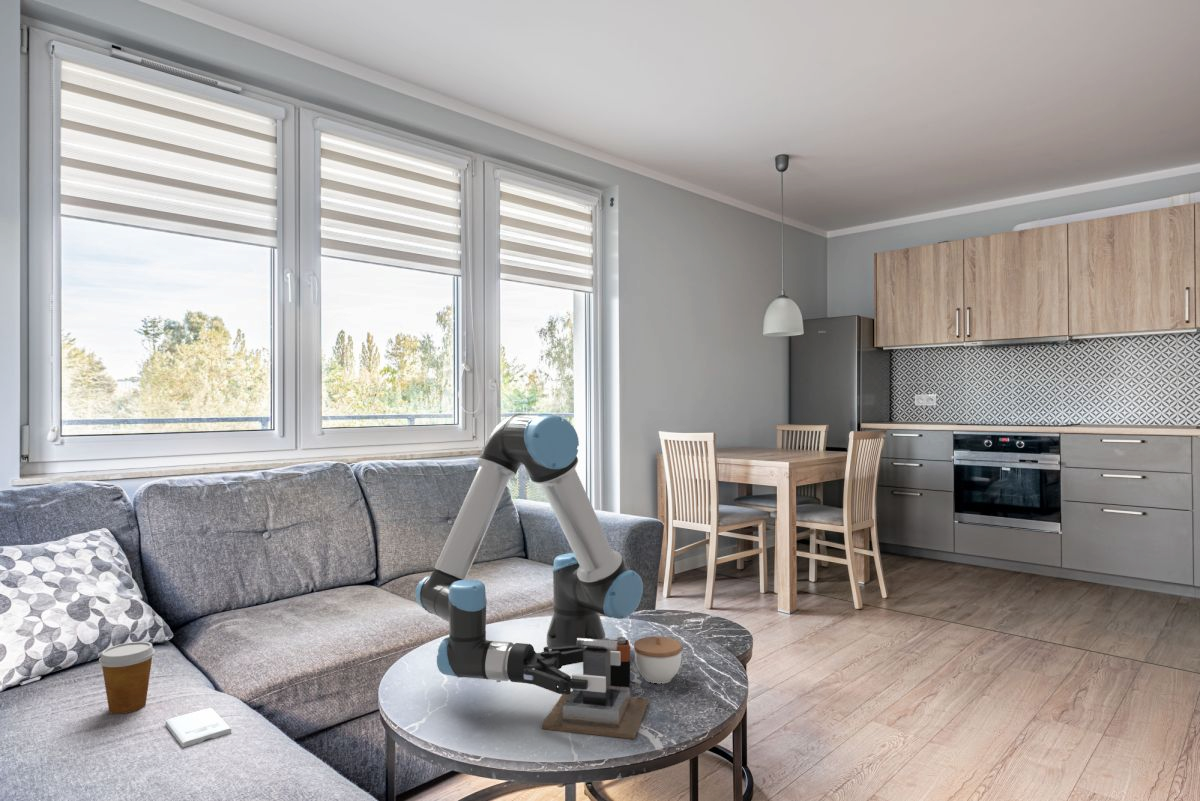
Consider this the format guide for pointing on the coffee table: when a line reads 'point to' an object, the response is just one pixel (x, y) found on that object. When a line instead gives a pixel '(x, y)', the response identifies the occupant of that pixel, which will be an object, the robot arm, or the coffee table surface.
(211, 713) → the external hard drive
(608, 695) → the chuck key
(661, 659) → the lidded jar
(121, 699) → the disposable coffee cup
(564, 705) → the chuck block
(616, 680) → the battery
